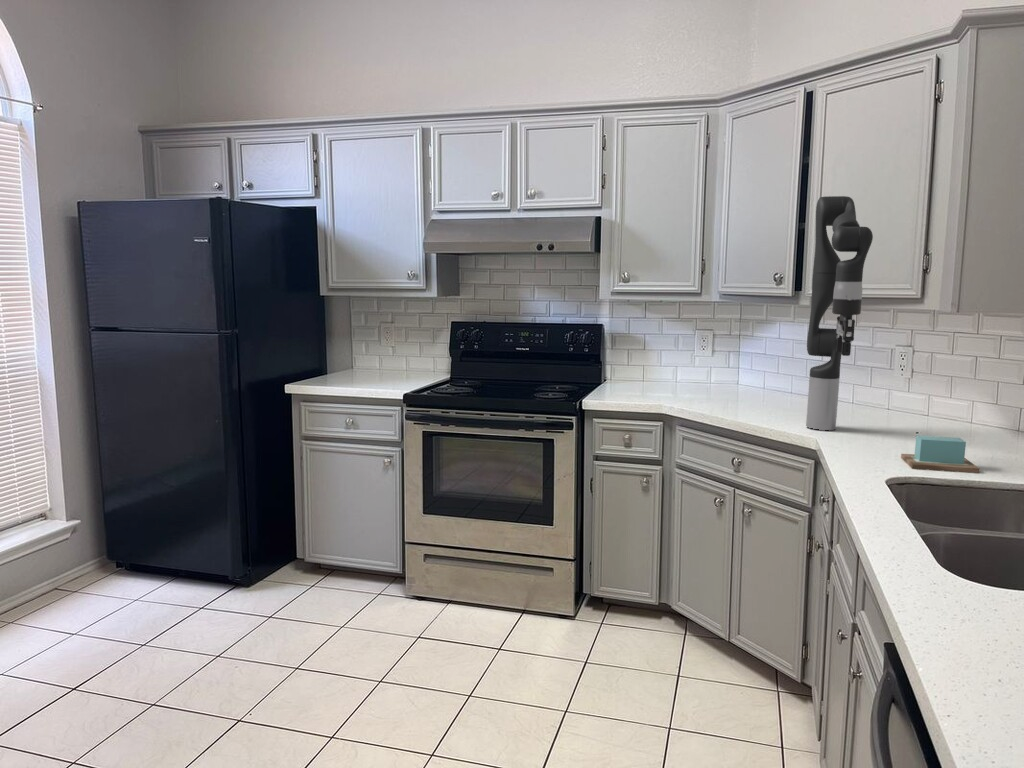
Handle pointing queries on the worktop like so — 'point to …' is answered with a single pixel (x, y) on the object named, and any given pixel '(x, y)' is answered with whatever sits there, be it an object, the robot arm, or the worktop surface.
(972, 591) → the worktop surface
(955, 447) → the block
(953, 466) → the stub base
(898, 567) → the worktop surface
